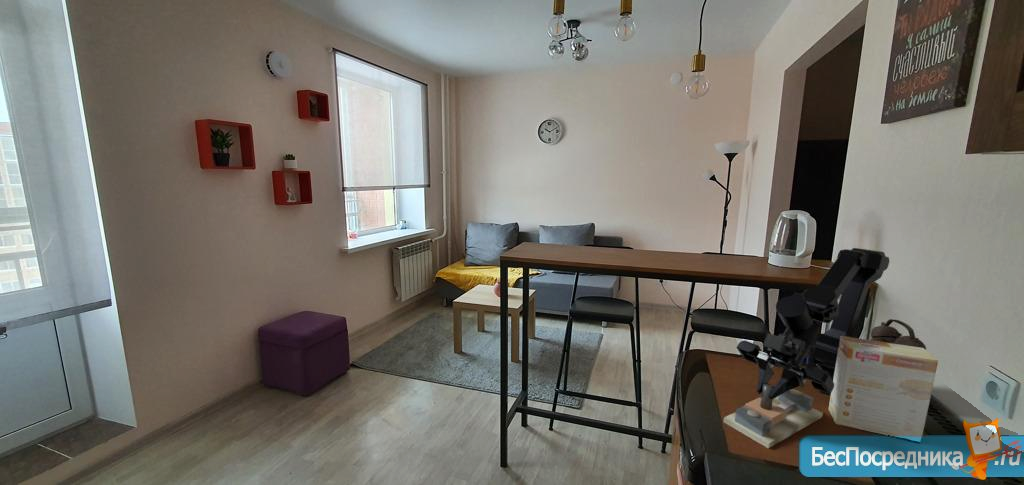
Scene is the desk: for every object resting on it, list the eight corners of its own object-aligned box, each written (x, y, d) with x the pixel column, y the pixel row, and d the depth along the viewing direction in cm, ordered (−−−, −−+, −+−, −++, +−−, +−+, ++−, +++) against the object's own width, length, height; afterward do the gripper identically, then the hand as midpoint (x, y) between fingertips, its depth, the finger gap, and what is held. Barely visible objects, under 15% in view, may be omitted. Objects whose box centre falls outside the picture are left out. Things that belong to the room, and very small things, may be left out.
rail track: (777, 396, 103) (779, 380, 102) (822, 417, 94) (825, 399, 93) (723, 422, 92) (725, 404, 91) (768, 448, 83) (770, 429, 82)
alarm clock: (926, 410, 97) (943, 334, 94) (892, 407, 99) (907, 331, 95) (884, 380, 111) (898, 313, 108) (855, 377, 113) (867, 311, 109)
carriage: (758, 404, 94) (762, 376, 93) (785, 418, 89) (790, 388, 88) (743, 411, 91) (747, 382, 90) (771, 426, 86) (775, 395, 85)
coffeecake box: (907, 425, 91) (923, 347, 88) (922, 444, 85) (940, 360, 81) (826, 408, 98) (839, 334, 94) (835, 424, 91) (849, 345, 88)
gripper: (745, 308, 96) (712, 360, 93) (836, 336, 80) (800, 400, 77) (760, 333, 101) (729, 382, 98) (848, 363, 85) (815, 424, 82)
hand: (764, 395), depth 89 cm, fingers closed on carriage, 2 cm apart
